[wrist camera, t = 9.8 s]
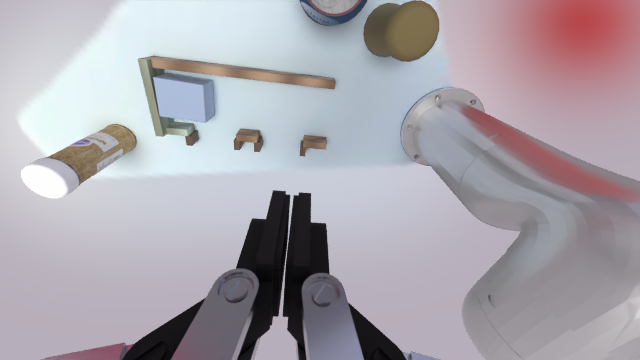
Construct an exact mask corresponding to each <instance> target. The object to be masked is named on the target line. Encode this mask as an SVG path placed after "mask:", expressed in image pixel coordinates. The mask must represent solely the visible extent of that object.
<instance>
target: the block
mask: <svg viewBox="0 0 640 360" xmlns="http://www.w3.org/2000/svg"><path fill="white" fill-rule="evenodd" d="M153 79H154V85H155V91H156V97H157V103H158V109H159V115H160V116H162V117H169V118H176V119H183V120H190V121H196V122H203V123H206V122H207V121H208V120H209V119H210V118H212V117H213V116H214V115H215V110H214V90H213V80H210V79H204V78H198V77H192V76H186V75H180V74H174V73H165V74H162V75H159V76H156V77H153Z"/></svg>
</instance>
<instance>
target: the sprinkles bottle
mask: <svg viewBox="0 0 640 360" xmlns="http://www.w3.org/2000/svg"><path fill="white" fill-rule="evenodd" d="M135 144H136V141H135V137H134V135H133V134H132V133H131V132H130V131H129V130H128V129H126V128H125V127H123V126H120V125H115V124H112V125H109V126H107V127H106V128H105V129H103V130H101V131H99V132H97V133H94V134H91V135H89V136H87V137H85V138H83V139H81V140H79V141H77V142H75V143H73V144H71V145H70V146H69V147H66V148H65V149H63V150H61V151H59V152H57V153H55V154H53V155H51V156H49V157H46V158H42V159H39V160H37V161H34V162H32V163H30V164H29V165H27V166H25V167H24V168H23V169H22V171H21V177H22V180H23V181H24V183H25V184H26V185H27V186H28V187H29V188H30V189H31V190H32V191H34V192H35V193H37V194H39V195H41V196H44V197H48V198H62V197H64V196H66V195H68V194H69V193H71V192H72V191H74V190H75V189H76V188H77V187H78V186H79V185H80V184H81V183H82V182H84V181H85V180H87V179H88V178H90V177H91V176H93V175H95V174H97V173H98V172H100V171H101V170H102V169H104V168H105V167H107V166H108V165H110V164H111V163H113V162H114V161H116V160H117V159H119V158H120V157H121V156H122V155H123V154H125V153H126V152H128V151H130V150H132V149H133V148H134V147H135Z"/></svg>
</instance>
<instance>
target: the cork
mask: <svg viewBox="0 0 640 360" xmlns="http://www.w3.org/2000/svg"><path fill="white" fill-rule="evenodd" d="M438 32H439V19H438V16H437V13H436V11H435V10H434V9H433V8H432V6H431V5H429V4H427V3H425V2H423V1H415V0H414V1H410V2H407V3H404V4H402V5H398V4H393V3H386V4H383V5H380V6H379V7H377V8H376V9H374V10H373V11H372V13H371V14H370V15H369V17H368V18H367V21H366V23H365V26H364V40H365V43H366V46H367V48H368V49H369V50H370V51H371V52H372V53H373V54H375V55H377V56H383V57H387V56H392V57H393V58H396V59H398V60H400V61H407V62H410V61H413V60H417V59H419V58H421V57H422V56H424V55H425V54H426V53H427V52H428V51H429V50H430V49H431V48H432V47H433V45H434V43H435V41H436V39H437V36H438Z"/></svg>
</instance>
